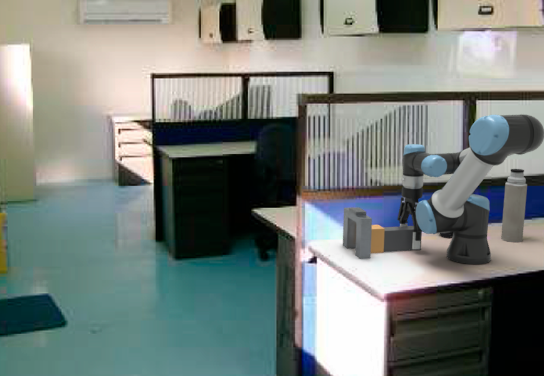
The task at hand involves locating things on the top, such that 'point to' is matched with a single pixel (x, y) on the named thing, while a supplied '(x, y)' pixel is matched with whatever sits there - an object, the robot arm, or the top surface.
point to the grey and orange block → (392, 239)
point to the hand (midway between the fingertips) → (409, 244)
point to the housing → (357, 231)
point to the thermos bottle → (514, 207)
